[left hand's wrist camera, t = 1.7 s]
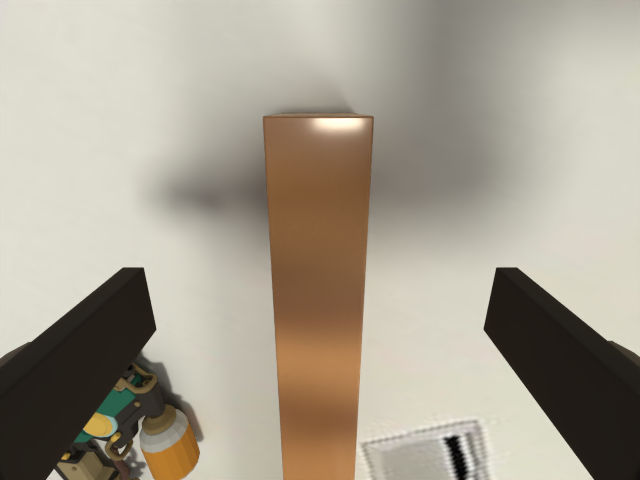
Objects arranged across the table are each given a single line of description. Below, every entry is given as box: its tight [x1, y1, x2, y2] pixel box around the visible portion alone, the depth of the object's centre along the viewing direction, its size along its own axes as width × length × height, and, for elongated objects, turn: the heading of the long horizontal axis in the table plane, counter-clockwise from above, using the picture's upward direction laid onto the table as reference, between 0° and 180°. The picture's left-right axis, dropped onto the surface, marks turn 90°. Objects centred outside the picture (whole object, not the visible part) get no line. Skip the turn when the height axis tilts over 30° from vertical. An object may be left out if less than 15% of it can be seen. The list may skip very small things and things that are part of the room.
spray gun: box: [54, 362, 200, 480], centre depth 32 cm, size 4×17×15 cm
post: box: [263, 113, 374, 480], centre depth 30 cm, size 58×5×8 cm, turn 0°
